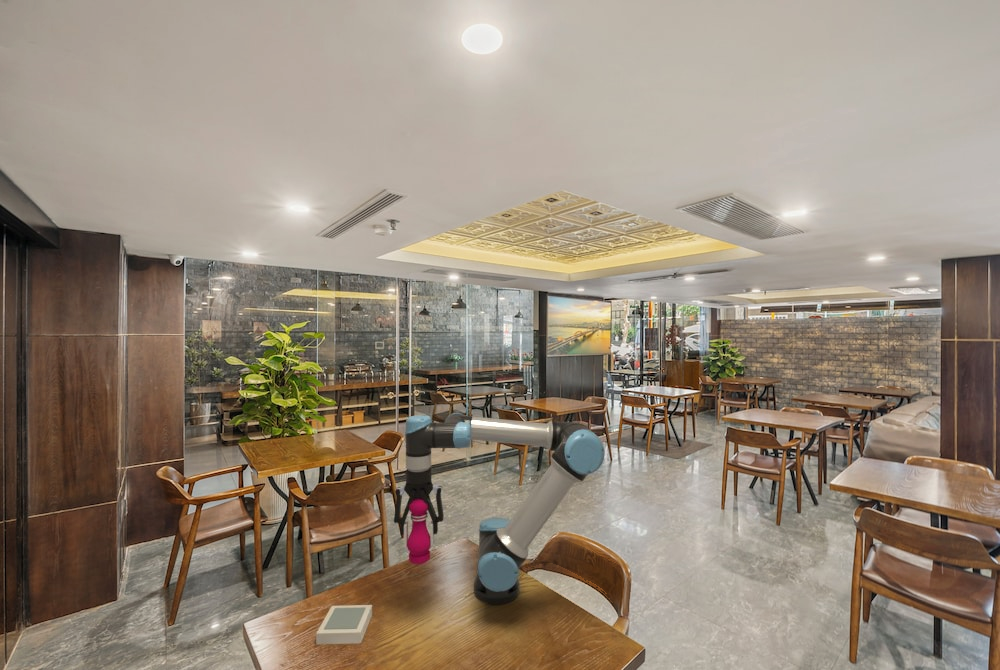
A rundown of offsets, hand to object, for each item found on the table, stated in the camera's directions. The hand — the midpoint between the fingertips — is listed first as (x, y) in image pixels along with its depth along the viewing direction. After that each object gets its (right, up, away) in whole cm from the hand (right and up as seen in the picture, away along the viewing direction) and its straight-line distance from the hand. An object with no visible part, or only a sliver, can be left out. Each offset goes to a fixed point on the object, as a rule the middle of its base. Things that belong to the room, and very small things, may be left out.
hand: (419, 544), depth 128 cm
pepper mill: (0, -4, 0) cm, 4 cm away
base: (-20, -22, -5) cm, 30 cm away
